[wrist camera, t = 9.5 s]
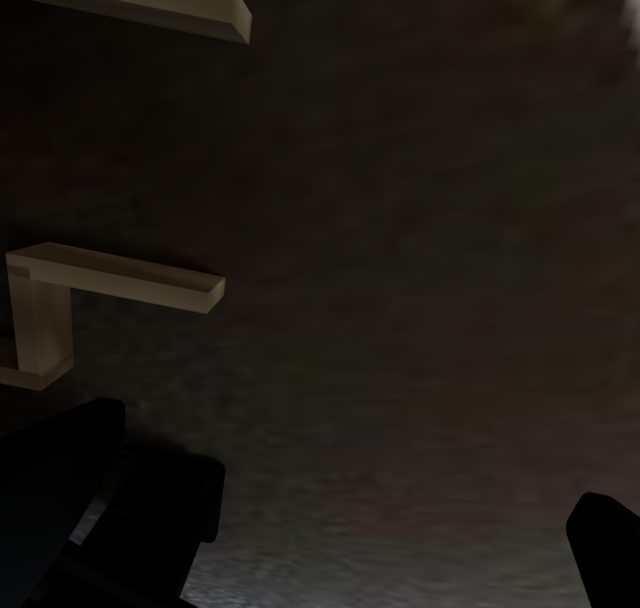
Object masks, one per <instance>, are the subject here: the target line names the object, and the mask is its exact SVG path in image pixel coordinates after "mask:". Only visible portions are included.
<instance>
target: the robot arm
mask: <svg viewBox="0 0 640 608" xmlns="http://www.w3.org/2000/svg"><path fill="white" fill-rule="evenodd" d="M124 438H125V405H124V403H123V402H122V401H121V400H117V399H112V398H107V397H100V398H97V399H94V400H92V401H89V402H87V403H84V404H82V405H80V406H77V407H75V408H72V409H70V410H67V411H65V412H62V413H60V414H58V415H55V416H53V417H50V418H48V419H45V420H43V421H41V422H38V423H36V424H33V425H31V426H28V427H26V428H23V429H21V430H19V431H16V432H14V433H11V434H9V435H6V436H4V437H1V438H0V608H198V607H196V606H194V605H192V604H190V603H188V602H186V601H184V600H182V599H181V598H180V595H181V592H182V590H183V587H184V585H185V582H186V579H187V577H188V574H189V571H190V569H191V566H192V564H193V561H194V558H195V556H196V553H197V550H198V548H199V545H200V542H205V543H212V542H214V541H215V539H216V536H217V533H218V525H219V517H220V509H221V501H222V493H223V486H224V478H225V467H224V466H223V465H222V464H220V463H217V462H212V461H206V460H201V459H196V458H191V457H186V456H181V455H176V454H170V453H165V452H160V451H155V450H150V449H145V448H140V447H134V446H129V445H125V446H123V447H122V444H123V442H124ZM121 447H122V448H121ZM127 454H128V455H127ZM116 456H117V493H116V495H115V496H114V497H113V499H112V500H111V502H110V503H109V505H108V506H107V508H106V509H105V510H104V512H103V513H102V515H101V516H100V518H99V519H98V521H97V522H96V523H95V525H94V526H93V528H92V529H91V531H90V532H89V534H88V535H87V536H86V538H85V539H84V541H83V542H82V544H81V545H78V544H76V543H75V542H73V541H71V540H69V537H70V535H71V534H72V532H73V531H74V529H75V528H76V526H77V525H78V523H79V521H80V520H81V518H82V516H83V515H84V513H85V511H86V509H87V508H88V506H89V504H90V502H91V500H92V499H93V497H94V495H95V493H96V492H97V490H98V488H99V486H100V484H101V483H102V481H103V479H104V477H105V476H106V474H107V472H108V470H109V468H110V467H111V465H112V463H113V461H114V460H115V458H116ZM215 471H217V472H215ZM566 533H567V537H568V540H569V543H570V546H571V549H572V552H573V555H574V557H575V560H576V563H577V566H578V569H579V572H580V575H581V578H582V581H583V584H584V587H585V590H586V593H587V596H588V599H589V601H590V604H591V607H592V608H640V517H639V516H637V515H636V514H634V513H633V512H632V511H630V510H629V509H627V508H626V507H625V506H623V505H622V504H621V503H619V502H618V501H616V500H615V499H613V498H612V497H610V496H607V495H602V494H597V493H592V492H587V493H585V494H583V495H582V496H581V498H580V499H579V501H578V503H577V504H576V506H575V508H574V510H573V511H572V513H571V515H570V516H569V518H568V520H567V523H566Z"/></svg>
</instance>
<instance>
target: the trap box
mask: <svg viewBox="0 0 640 608" xmlns="http://www.w3.org/2000/svg"><path fill="white" fill-rule="evenodd" d="M32 1H37V2H41V3H46V4H51V5H56V6H61V7H66V8H71V9H76V10H81V11H85V12H90V13H95V14H100V15H105V16H110V17H115V18H120V19H125V20H129V21H134V22H139V23H144V24H149V25H154V26H159V27H164V28H169V29H173V30H178V31H183V32H188V33H193V34H198V35H203V36H208V37H213V38H217V39H222V40H227V41H232V42H237V43H242V44H247V45H249V40H250V31H251V21H252V15H251V13H250V12H249V10H248V8H247V7H246V5H245V4H244V2H243V0H32ZM6 262H7V270H8V279H9V287H10V296H11V304H12V313H13V322H14V330H15V339H12V338H7V337H1V336H0V383H1V384H7V385H12V386H17V387H22V388H27V389H32V390H37V391H42V390H43V389H44V388H46V387H47V386H48V385H50V384H51V383H52V382H54V381H55V380H56V379H58V378H59V377H60V376H62V375H63V374H64V373H66V372H67V371H68V370H70V369H71V368H72V367H74V351H73V333H72V314H71V296H70V287H73V288H78V289H84V290H89V291H94V292H99V293H104V294H109V295H114V296H119V297H124V298H129V299H134V300H139V301H144V302H149V303H154V304H159V305H164V306H169V307H174V308H180V309H185V310H190V311H195V312H200V313H205V314H207V313H208V312H209V311H210V310H211V309H212V308H213V306H214V305H215V304H216V303H217V302H218V301H219V300H220V299H221V298H222V297H223V296H224V286H225V277H223V276H218V275H213V274H208V273H203V272H197V271H192V270H187V269H182V268H177V267H172V266H167V265H162V264H157V263H152V262H147V261H142V260H137V259H132V258H127V257H122V256H117V255H112V254H107V253H102V252H97V251H92V250H87V249H82V248H77V247H72V246H67V245H62V244H57V243H52V242H45V243H41V244H37V245H34V246H30V247H26V248H22V249H18V250H15V251H11V252H7V253H6Z"/></svg>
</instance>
